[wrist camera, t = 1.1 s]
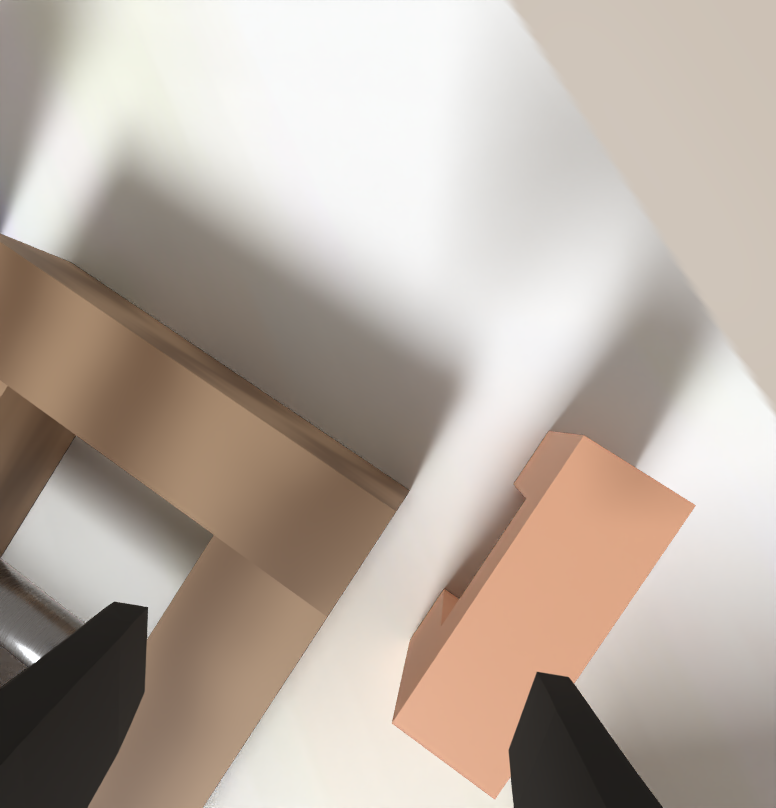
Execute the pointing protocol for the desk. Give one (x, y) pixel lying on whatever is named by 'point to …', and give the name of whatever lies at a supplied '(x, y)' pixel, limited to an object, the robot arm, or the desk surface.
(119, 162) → the desk surface
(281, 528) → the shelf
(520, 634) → the pink notched block
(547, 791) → the robot arm
